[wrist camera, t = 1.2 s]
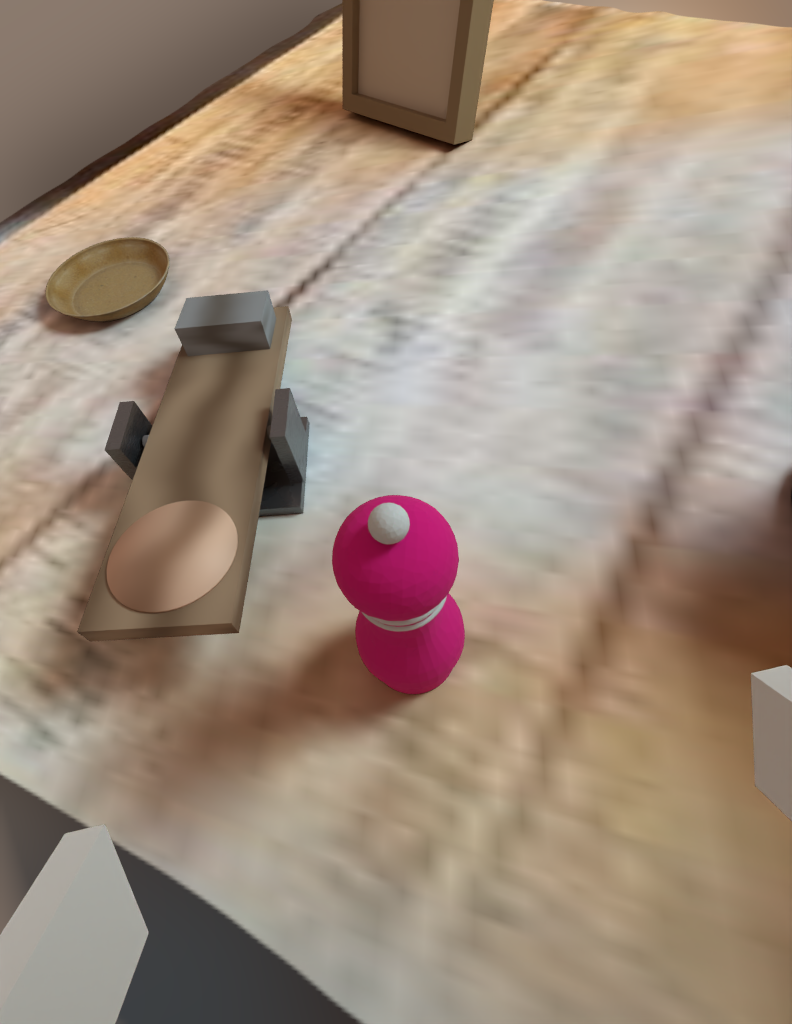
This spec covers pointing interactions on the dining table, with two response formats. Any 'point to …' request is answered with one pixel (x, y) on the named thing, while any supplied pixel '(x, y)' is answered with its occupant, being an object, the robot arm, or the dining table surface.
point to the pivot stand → (283, 461)
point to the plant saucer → (109, 279)
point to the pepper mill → (401, 590)
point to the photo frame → (416, 63)
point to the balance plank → (197, 480)
